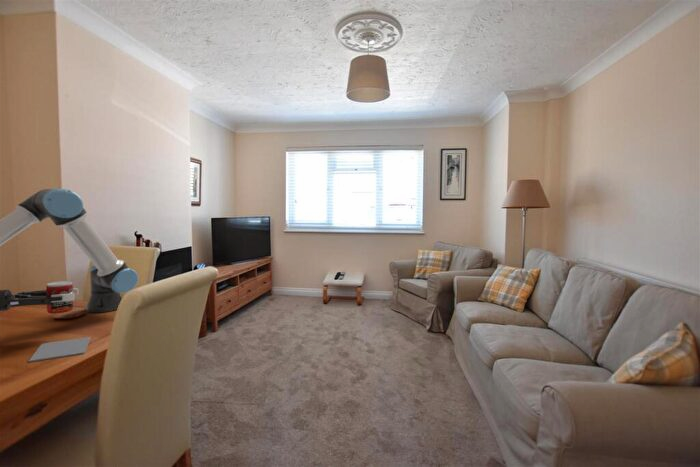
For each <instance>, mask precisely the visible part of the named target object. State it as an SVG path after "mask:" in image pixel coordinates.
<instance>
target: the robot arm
mask: <svg viewBox="0 0 700 467" xmlns="http://www.w3.org/2000/svg"><path fill="white" fill-rule="evenodd" d="M86 216H87V210H86V209H85V208H84V202H83V199H82V197H81V196H80V195H79V194H78V193H76V192H74V191H72V190H70V189H65V188H47V189H46V188H45V189H42V190H39V191H36V192H35V193H33V194H32V195H30V196H29V197H28V198H26V199H25V200H23V201H21V202H19V204H17V205H16V206H15V210H13V211H11V212H10V213H8V214H6V215H5V216H4V217H2V218H1V219H0V247H1V246H3V245H4V244H5V243H7V242H8V241H10V240H11V239H13V238H14V237H16V236H18V235H19V234H21V232H23V231H25V230H26V229H27V228H29V227H30V226H32V225H33V224H40V223H41V222H43V221H44V220H46V219H48V218H49V219H50V220H51V221H52V222H53V224H54V225H55V226H56V227H61V228H63V229H64V230H65V231H66V233H67V234H68V235H69V236H70V238H72V240H73V242H74V243H76V245H77V246H78V247H79V248H80V250H81V251H82V252H83V253H84V254H85V256H86V257H87V258H88V259H89V260H90V262H92V265H91V266H90V270H89V271H90V272H89V273H90V296H89V298H88V301H87V304H86V309H85V310H86V312H88V313H106V312H112V311H113V310H114V311H117V308H118V305H119V303H120V301H121V299H123V298H122V295H121V294H125V293H129V292H130V290H131V291H132V290H133V289H135V288H136V286H137V285H138V282H139V275H138V272H137V271H136V270H134V269H132V268H130V267H129V266H128V265H127V263H125V261H124V260H123V259H118V258H117V256H116V255H115V254H114V253H113V251H112V250H111V248H109V246H108V245H107V243H106V242H105V241H104V239H103V238H102V237H101V235H100V234H99V232H97V230H96V229H95V227H94V226H93V225H92V223H90V221H89V220H88V219H87V217H86ZM128 291H129V292H128ZM76 296H79V289H78V288H73V293H70V294H57V295H51V296H47V293H46V289H42V290H32V291H21V292H17V294H12V291H11V290H10V289H0V312H3V311H4V312H5V311H6V312H7V311H8V310H10V308H14V307H23V306H26V307H27V306H41V305H46V306H47V305H51V302H62V301H73V302H74V301H75V297H76Z"/></svg>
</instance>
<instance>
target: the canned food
mask: <svg viewBox="0 0 700 467" xmlns="http://www.w3.org/2000/svg"><path fill="white" fill-rule="evenodd" d="M73 287H74V285H73V281H70V280H63V281H62V280H61V281H59V280H58V281H53V282H48V283H46V287H45V290H46V293H47V296H51V295H57V294H70V293H73V289H74V288H73ZM73 309H74V300H73V301H62V302H51V305H47V304H46V312H47V313H48V314H51V315H52V314H62V313H67V312H71V311H72V310H73Z"/></svg>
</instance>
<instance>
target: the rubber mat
mask: <svg viewBox="0 0 700 467" xmlns="http://www.w3.org/2000/svg"><path fill="white" fill-rule="evenodd" d="M90 341H91V336H89V337H81V338H73V339H66V340H58V341H51V342H45V343H41V344H40V345H39V347H38V348H37V349H36V350H35V352H34V353H33V355H32V356H31V357H30V358H29V360H28V363H33V362H34V363H35V362H38V361H39V362H40V361H45V360H51V359H52V360H53V359H60V358H65V357H71V356H72V357H73V356H78V354H79V355H84V353H86V351H87V348H88V346H89V344H90Z"/></svg>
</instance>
